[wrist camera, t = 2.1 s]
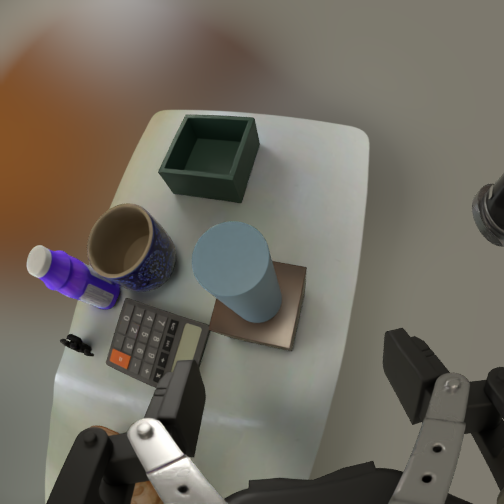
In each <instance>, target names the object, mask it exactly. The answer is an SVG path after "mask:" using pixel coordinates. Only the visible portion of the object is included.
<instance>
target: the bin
mask: <svg viewBox="0 0 504 504" xmlns="http://www.w3.org/2000/svg"><path fill="white" fill-rule="evenodd" d="M259 144H260V143H259V138H258V133H257V128H256V124H255V119H254V118H251V117H237V116H218V115H185V117H184V119H183V121H182V123H181V125H180V127H179V129H178V131H177V133H176V135H175V137H174V139H173V141H172V143H171V145H170V147H169V150H168V152H167V154H166V156H165V158H164V160H163V162H162V165H161V167H160V169H159V171H158V173H159V174H160V175H161V177H162V178H163V180H164V181H165V182H166V184H167V185H168V187H169V188H170V189H171V191H172V192H173V193H174V194H181V195H189V196H196V197H203V198H210V199H217V200H224V201H231V202H237V203H241V202H242V199H243V196H244V193H245V189H246V186H247V183H248V180H249V176H250V173H251V170H252V167H253V163H254V160H255V157H256V154H257V151H258V148H259Z"/></svg>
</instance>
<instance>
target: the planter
mask: <svg viewBox="0 0 504 504" xmlns="http://www.w3.org/2000/svg"><path fill="white" fill-rule="evenodd" d="M87 255H88V260H89V263H90V265H91V267H92V268H93V270H94V271H95V272H96V273H97V274H99V275H100V276H102V277H103V278H105V279H107V280H109V281H111V282H113V283H115V284H117V285H119V286H122V287H124V288H127V289H130V290H133V291H138V292H147V291H152V290H154V289H156V288H158V287H160V286H161V285H163V284H164V283H165V282H166V281H167V280H168V279H169V277H170V276H171V274H172V272H173V270H174V267H175V262H176V251H175V247H174V244H173V242H172V240H171V238H170V237H169V235H168V234H167V232H166V231H165V230H164V229H163V227H162V226H161V225H160V224H159V223H158V222H157V221H156V220H155V219H154V218H153V217H152V216H151V215H150V214H149V213H148V212H147V211H146V210H145V209H144V208H142V207H141V206H139V205H136V204H131V203H126V204H120V205H117V206H115V207H113V208H111V209H109V210H108V211H107V212H105V213H104V214H103V215H102V216H101V217H100V218H99V219H98V221H97V222H96V223H95V225H94V227H93V228H92V230H91V233H90V236H89V239H88V245H87Z"/></svg>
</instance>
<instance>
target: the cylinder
mask: <svg viewBox="0 0 504 504" xmlns="http://www.w3.org/2000/svg"><path fill="white" fill-rule="evenodd" d="M192 268H193V272H194V275H195V277H196V279H197V281H198V282H199V284H200V285H201V286H202V287H203V288H204V289H206V290H207V291H208V292H209V293H211V294H212V295H213V296H215V297H216V298H217V299H218V300H220V301H221V302H222V303H224V304H225V305H226V306H227V307H229V308H230V309H231V310H233V311H234V312H235V313H237V314H238V315H239V316H241V317H242V318H243V319H245V320H247V321H249V322H253V323H261V322H265V321H268V320H269V319H271V318H272V317H274V316H275V315H276V313H277V312H278V310H279V309H280V306H281V302H282V296H281V291H280V287H279V284H278V280H277V277H276V273H275V269H274V266H273V262H272V259H271V255H270V252H269V248H268V245H267V242H266V240H265V238H264V237H263V235H262V234H261V233H260V232H259V231H258V230H257V229H256V228H254V227H252V226H251V225H249V224H246V223H243V222H236V221H230V222H224V223H220V224H218V225H215V226H213V227H212V228H210V229H209V230H207V231H206V232H205V233H204V234H203V235H202V236H201V237H200V239H199V240H198V242H197V244H196V246H195V248H194V251H193V255H192Z"/></svg>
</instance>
